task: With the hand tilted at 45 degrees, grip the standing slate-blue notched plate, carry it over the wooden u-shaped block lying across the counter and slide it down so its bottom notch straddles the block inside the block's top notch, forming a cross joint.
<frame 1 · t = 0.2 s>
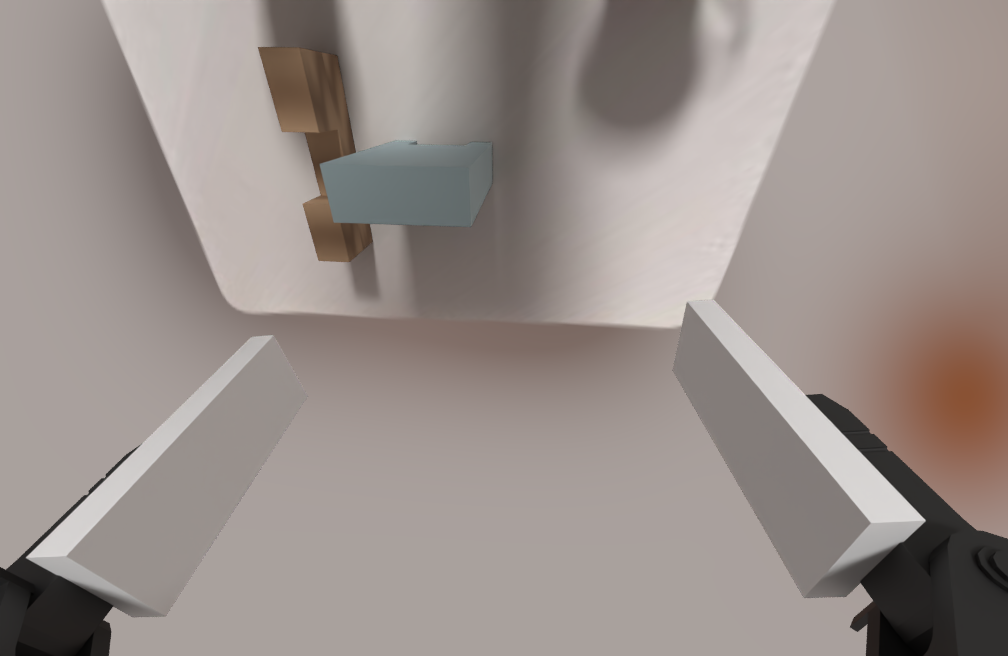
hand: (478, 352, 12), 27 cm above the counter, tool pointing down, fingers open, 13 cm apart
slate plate: (444, 162, 34), on the counter
wooden u-shaped block: (342, 159, 34), on the counter
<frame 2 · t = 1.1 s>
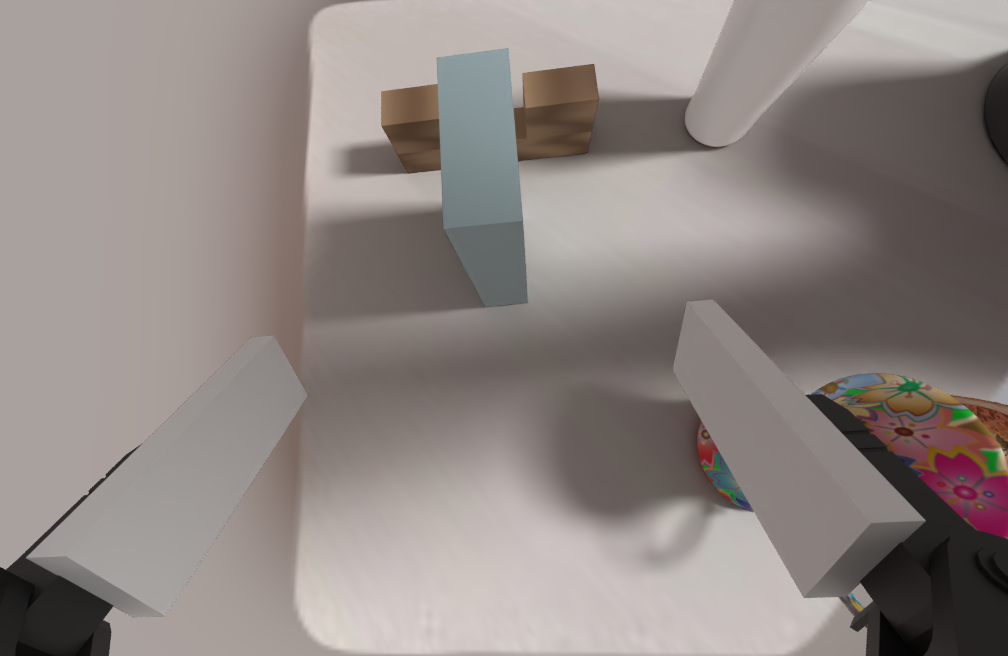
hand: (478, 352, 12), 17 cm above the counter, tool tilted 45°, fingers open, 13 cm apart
drinking glass: (712, 124, 31), on the counter
mug: (754, 466, 26), on the counter
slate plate: (502, 253, 30), on the counter
wooden u-shaped block: (495, 148, 32), on the counter
fruit slice: (912, 442, 25), on the counter
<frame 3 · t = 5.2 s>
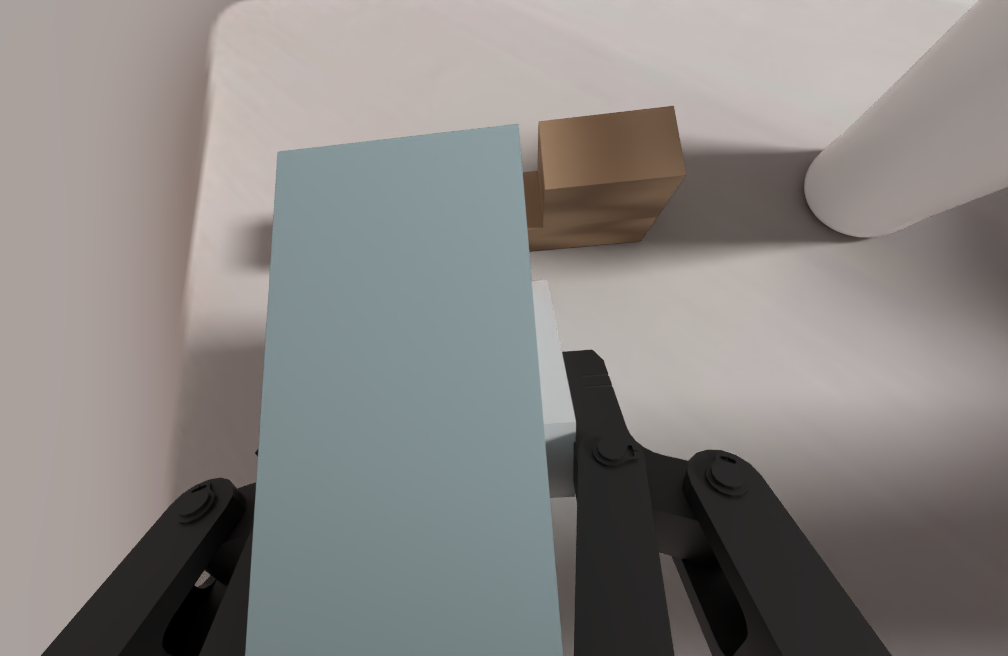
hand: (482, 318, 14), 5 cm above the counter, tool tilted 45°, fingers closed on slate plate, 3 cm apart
drinking glass: (848, 196, 19), on the counter
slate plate: (501, 414, 18), on the counter, touching gripper
wooden u-shaped block: (489, 229, 20), on the counter
when the fingers open (7 cm above the counter, at t = 10.2 s): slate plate drops 2 cm, on the counter.
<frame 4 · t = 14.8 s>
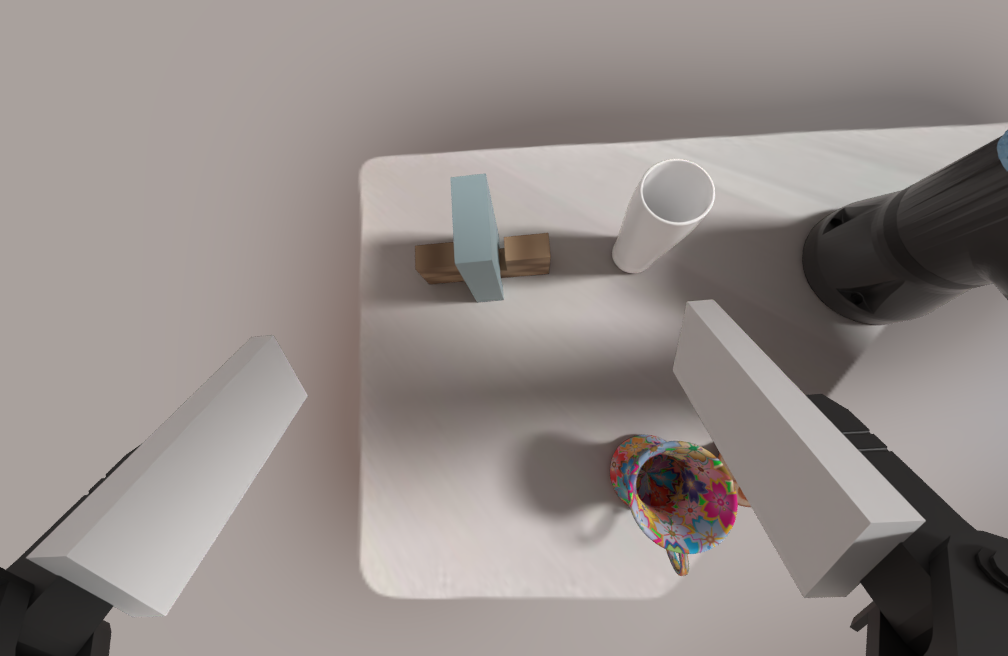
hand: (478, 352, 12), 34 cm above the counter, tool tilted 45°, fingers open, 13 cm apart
drinking glass: (631, 255, 47), on the counter
mug: (646, 483, 42), on the counter
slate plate: (488, 268, 48), on the counter
wooden u-shaped block: (487, 268, 48), on the counter
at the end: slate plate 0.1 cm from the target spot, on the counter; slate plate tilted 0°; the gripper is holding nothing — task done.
